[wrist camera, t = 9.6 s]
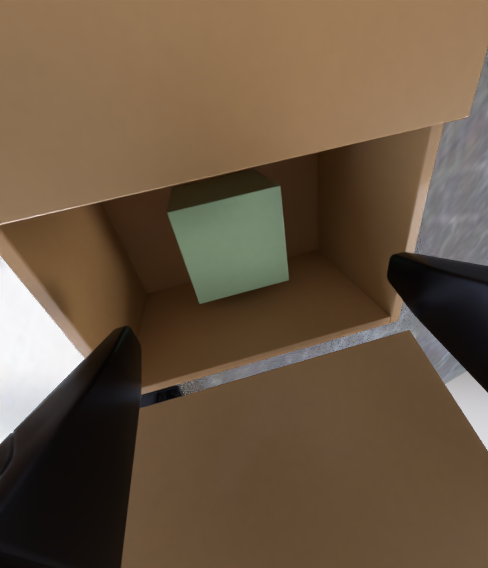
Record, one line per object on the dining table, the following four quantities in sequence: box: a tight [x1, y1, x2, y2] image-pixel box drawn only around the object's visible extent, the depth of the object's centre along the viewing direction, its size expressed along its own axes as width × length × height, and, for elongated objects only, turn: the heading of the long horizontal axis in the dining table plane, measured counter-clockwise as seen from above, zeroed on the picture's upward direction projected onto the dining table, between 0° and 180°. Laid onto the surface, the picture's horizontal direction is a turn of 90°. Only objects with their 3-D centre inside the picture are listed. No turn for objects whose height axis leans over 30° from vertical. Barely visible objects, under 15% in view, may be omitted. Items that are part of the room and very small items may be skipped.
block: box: [167, 169, 289, 304], centre depth 14 cm, size 5×5×5 cm
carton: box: [0, 0, 488, 395], centre depth 10 cm, size 17×14×9 cm
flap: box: [121, 330, 488, 568], centre depth 9 cm, size 8×14×1 cm
